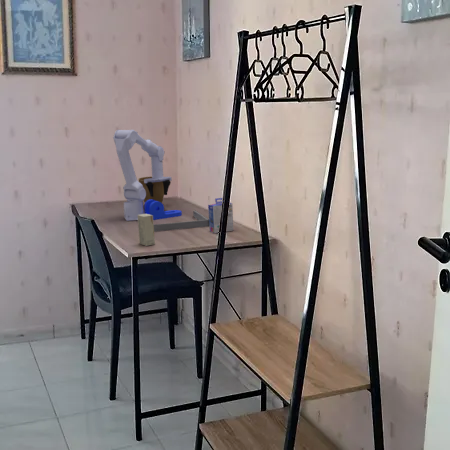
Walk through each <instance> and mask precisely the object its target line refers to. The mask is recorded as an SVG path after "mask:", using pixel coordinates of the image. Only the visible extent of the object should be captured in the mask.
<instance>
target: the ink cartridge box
mask: <svg viewBox="0 0 450 450" xmlns="http://www.w3.org/2000/svg"><path fill="white" fill-rule="evenodd" d="M222 199H223V198H222V197H218V198H215V199H214V201H215V203H212V204H207V207H208V208H207V209H208V210H207V211H208V219H209V226H208V227H209V232H211V233H212V234H217V233H218V231H219V223H220V217H221V209H222ZM229 203H230V205H229V212H228V223H227V231H226V232H233V231H234V211H233V209H234V207H233V203H232V202H229Z"/></svg>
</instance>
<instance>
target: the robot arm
mask: <svg viewBox="0 0 450 450" xmlns="http://www.w3.org/2000/svg"><path fill="white" fill-rule="evenodd" d="M112 138H113V142H114V145H115V148H116V149H115V150H116V153H117V157H118V161H119V165H120V167H121V170H122V174H123V177H124V181H125V184H124V185H123V197H124V198H125V200H126V201H123V215H124V218H123V219H125V221H126V222H128V221H138V215H140V214H144V199H145V197H146V191H145V189H144V188H143V185H142V184H141V183H140V182H139V180H138V179H137V176H136V172H135V171H136V170H135V168H134V164H133V160H132V159H131V156H130V150H132V148H133V147H134V145H135V144H136V145H138V146H140V147H141V149H142V150H143V151H144V152H146V153H147V155H148V156H149V157H150V158H151V159H150V161H151V164H150V165H151V177H152V178H149V179H144V183H145V184H146V186H147V188H148V190H149V192H150V196H151V197H153V185H154V184H152V182H161V181H163V186H164V196H168V190H169V188H170V185H171V182H172V176H164V167H163V166H164V165H163V163H164V162H163V161H164V156H165V150H164V147H163V146H161V145H157V143H154V142H153V141H152V139H150V138H149V139H145V138H143V137H142V136H141V135H140V134H139V133H138V131H136V130H135V129H116V130H115V132H114V135H113V137H112ZM156 180H160V181H156Z"/></svg>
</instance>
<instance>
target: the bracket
mask: <svg viewBox="0 0 450 450" xmlns="http://www.w3.org/2000/svg"><path fill="white" fill-rule="evenodd" d="M143 213H144V214H150V215H153V221H156V220H162V219H163V220H165V219H171V218H176V217H181V216H182V215H183V212H182V210H178V209H173V210H172V209H170V210H165V206H164V204H163V202H162V203H161V202H159V201H155V200H152V199H149V200H147V201H146V202H144V203H143Z"/></svg>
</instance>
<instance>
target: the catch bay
mask: <svg viewBox="0 0 450 450" xmlns="http://www.w3.org/2000/svg"><path fill="white" fill-rule="evenodd" d="M192 213H193V216H192V217H193V218H194V219H196V220H188V221H187V220H186V221H178V222H167V223H157V224H155V223H154V233H157V232H163V231H164V232H165V231H176V230H186V229H194V228H205V227H206V228H208V227H210V226H209V217H207V216H205V215H203V214H202V213H200V212H198V211H197V210H195V209H194V210H193V212H192Z"/></svg>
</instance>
